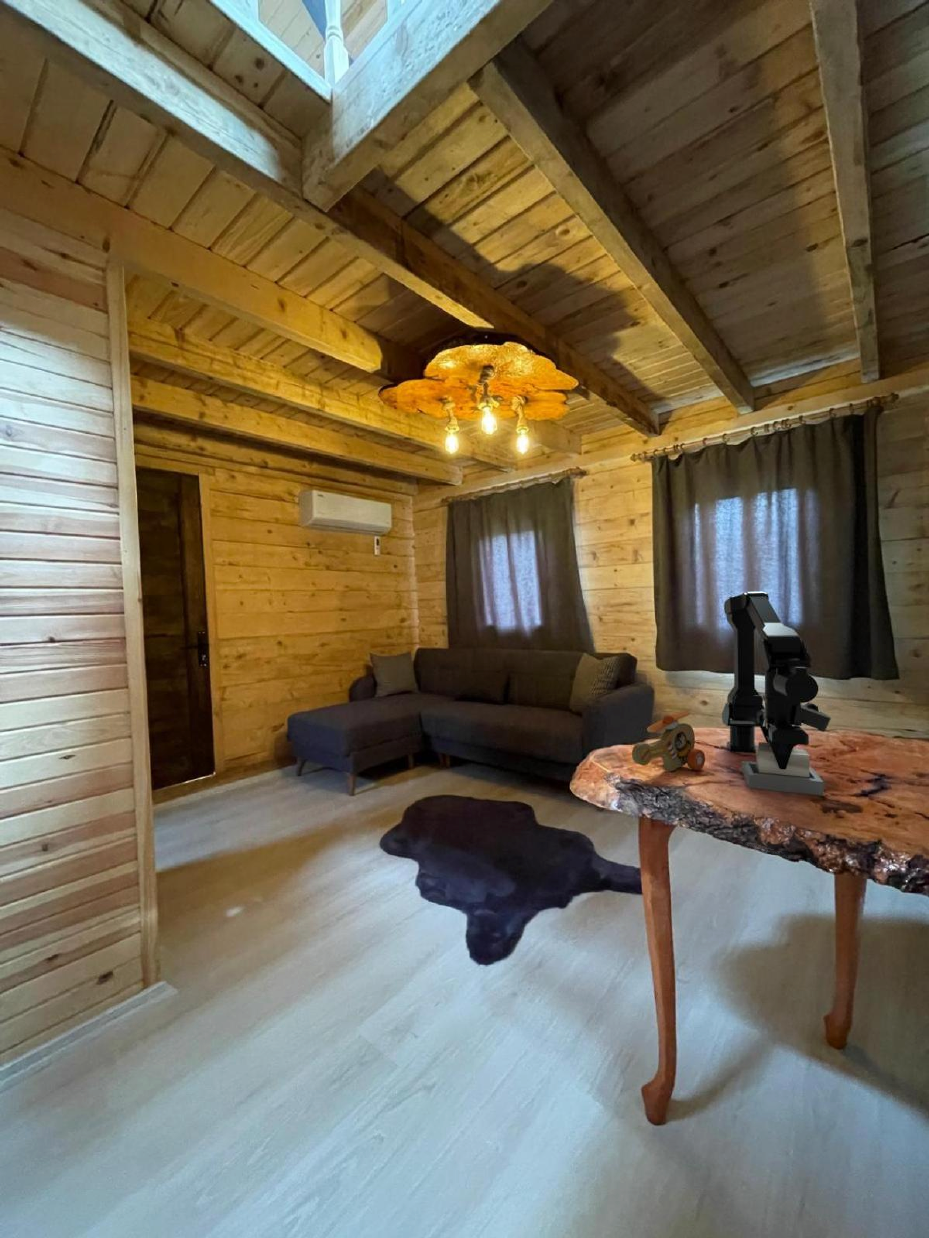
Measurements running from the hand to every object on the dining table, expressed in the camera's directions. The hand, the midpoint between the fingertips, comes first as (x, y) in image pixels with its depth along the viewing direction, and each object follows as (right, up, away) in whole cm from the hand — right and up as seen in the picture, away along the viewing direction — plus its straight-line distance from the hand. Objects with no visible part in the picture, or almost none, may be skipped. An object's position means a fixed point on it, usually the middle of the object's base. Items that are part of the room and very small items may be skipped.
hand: (780, 765), depth 107 cm
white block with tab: (0, -1, 0) cm, 1 cm away
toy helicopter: (-20, -4, +9) cm, 23 cm away
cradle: (0, -4, 0) cm, 4 cm away
